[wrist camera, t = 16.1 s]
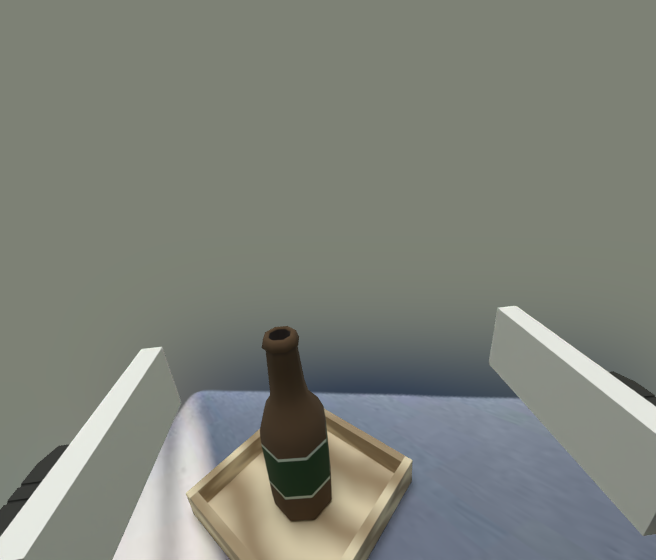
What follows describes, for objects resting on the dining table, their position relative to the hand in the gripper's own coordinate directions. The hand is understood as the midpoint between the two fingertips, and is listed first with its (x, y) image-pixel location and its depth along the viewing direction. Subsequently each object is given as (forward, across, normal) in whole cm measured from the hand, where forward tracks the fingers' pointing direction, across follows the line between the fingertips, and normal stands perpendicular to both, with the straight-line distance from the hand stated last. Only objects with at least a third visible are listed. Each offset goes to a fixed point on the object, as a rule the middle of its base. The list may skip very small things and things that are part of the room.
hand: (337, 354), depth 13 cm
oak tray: (+16, -4, -34) cm, 38 cm away
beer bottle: (+16, -4, -33) cm, 37 cm away
